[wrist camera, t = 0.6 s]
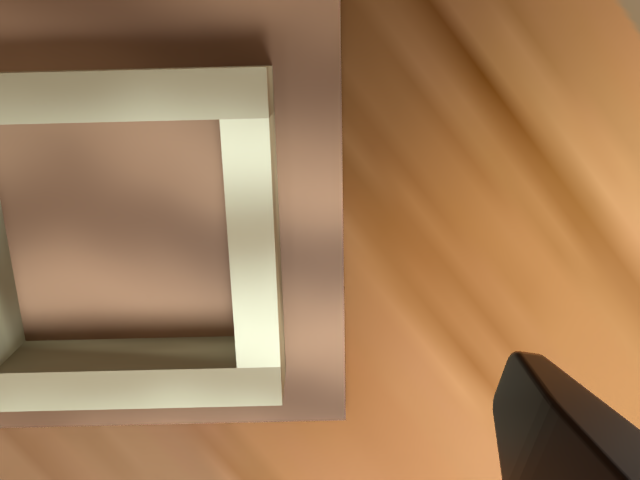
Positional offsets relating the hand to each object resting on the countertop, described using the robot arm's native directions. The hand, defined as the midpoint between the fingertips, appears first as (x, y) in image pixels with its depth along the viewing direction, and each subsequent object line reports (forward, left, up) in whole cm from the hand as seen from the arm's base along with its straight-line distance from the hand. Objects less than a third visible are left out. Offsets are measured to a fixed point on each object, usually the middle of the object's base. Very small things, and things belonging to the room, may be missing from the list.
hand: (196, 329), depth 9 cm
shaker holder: (-4, +4, -14) cm, 15 cm away
